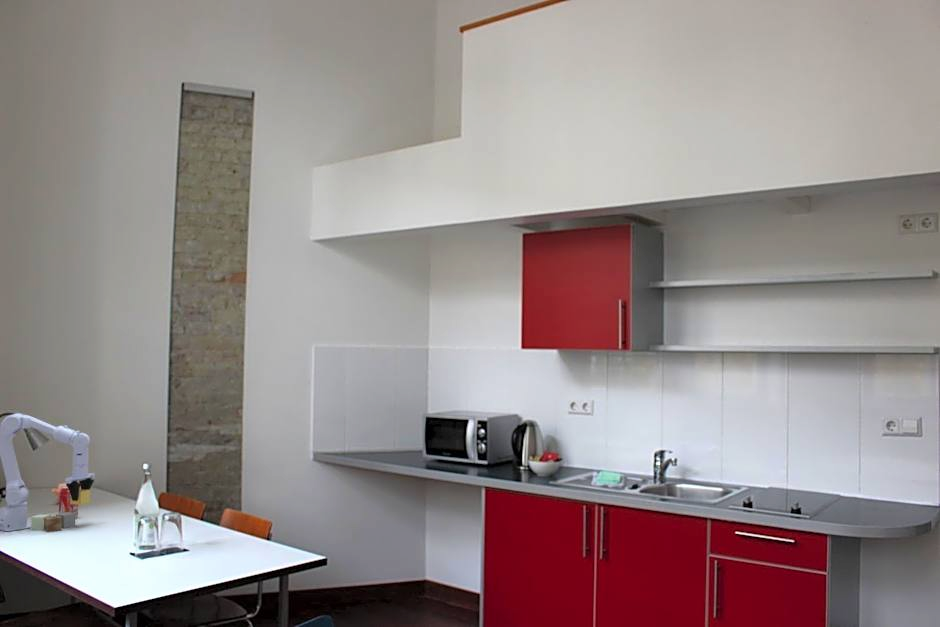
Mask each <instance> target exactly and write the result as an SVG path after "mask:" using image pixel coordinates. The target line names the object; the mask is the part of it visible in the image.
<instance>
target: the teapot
mask: <svg viewBox="0 0 940 627" xmlns="http://www.w3.org/2000/svg"><path fill="white" fill-rule="evenodd" d="M62 486H66V483H65V482H63V483H59V484H58V486H57V488H56V487H54V488H52V491H51V492H52V493H54V494H55V495H56V501H58V502H59V491H60V489H61V487H62ZM80 489H81V486H80Z"/></svg>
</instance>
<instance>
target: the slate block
mask: <svg viewBox="0 0 940 627" xmlns="http://www.w3.org/2000/svg"><path fill="white" fill-rule="evenodd" d="M55 516H60V517H61V518H62V524H61V529H69V528H72V527H76V518H75V516H76V514H75V513H69V512H66V513H61V514H59V513H56V514H55Z"/></svg>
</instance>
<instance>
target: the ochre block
mask: <svg viewBox="0 0 940 627" xmlns="http://www.w3.org/2000/svg"><path fill="white" fill-rule="evenodd" d="M90 502H91V489H90V490H85V489H79V496H78V501H72V498H71V494H70V504H77V505H78V506H80V505H85V504H89V503H90Z"/></svg>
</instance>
